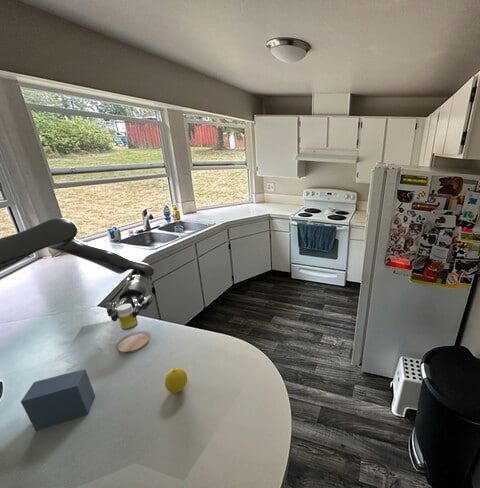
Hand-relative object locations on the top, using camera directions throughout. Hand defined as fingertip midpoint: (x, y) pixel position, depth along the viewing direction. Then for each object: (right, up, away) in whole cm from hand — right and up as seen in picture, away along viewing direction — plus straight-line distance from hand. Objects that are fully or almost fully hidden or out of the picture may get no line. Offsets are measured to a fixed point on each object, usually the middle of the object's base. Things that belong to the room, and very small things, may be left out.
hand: (124, 316), depth 84 cm
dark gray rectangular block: (-1, -20, -17) cm, 27 cm away
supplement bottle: (-1, -5, +4) cm, 7 cm away
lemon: (+24, -19, -10) cm, 33 cm away
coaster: (-2, -12, +7) cm, 14 cm away
